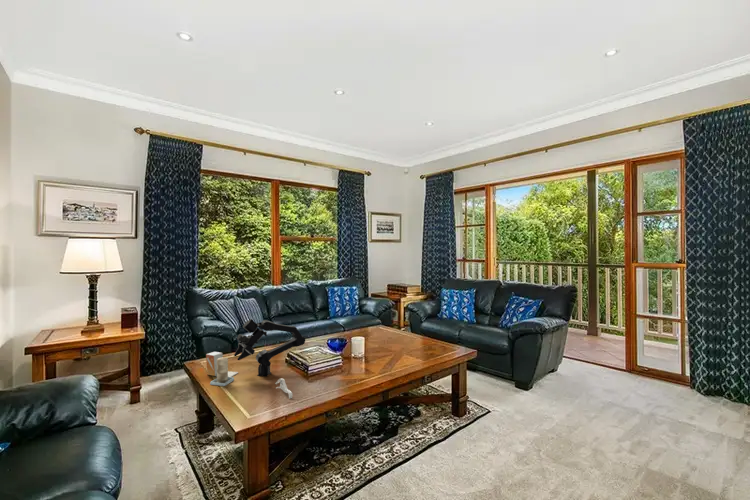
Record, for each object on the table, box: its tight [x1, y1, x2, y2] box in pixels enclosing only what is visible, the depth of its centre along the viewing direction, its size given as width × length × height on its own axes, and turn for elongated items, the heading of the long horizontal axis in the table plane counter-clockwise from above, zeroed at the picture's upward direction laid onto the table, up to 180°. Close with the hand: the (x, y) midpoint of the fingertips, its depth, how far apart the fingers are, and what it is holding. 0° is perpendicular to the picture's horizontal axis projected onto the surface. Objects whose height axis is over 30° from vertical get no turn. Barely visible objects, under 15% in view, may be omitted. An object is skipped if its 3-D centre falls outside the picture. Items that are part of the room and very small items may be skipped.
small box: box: [205, 351, 223, 377], centre depth 224 cm, size 8×6×13 cm
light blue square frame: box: [209, 376, 235, 387], centre depth 211 cm, size 9×9×2 cm
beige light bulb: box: [216, 357, 229, 383], centre depth 211 cm, size 6×6×14 cm
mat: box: [228, 370, 239, 378], centre depth 223 cm, size 9×9×1 cm
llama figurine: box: [274, 378, 293, 400], centre depth 197 cm, size 2×11×18 cm
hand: (236, 357), depth 215 cm, fingers open, 9 cm apart
